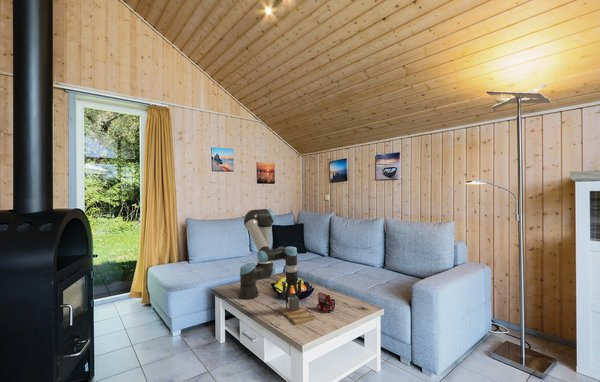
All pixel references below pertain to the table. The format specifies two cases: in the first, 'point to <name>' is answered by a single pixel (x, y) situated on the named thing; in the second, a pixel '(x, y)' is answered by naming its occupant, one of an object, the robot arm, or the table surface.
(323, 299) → the toy fire truck
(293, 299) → the block
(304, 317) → the board
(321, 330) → the table surface
